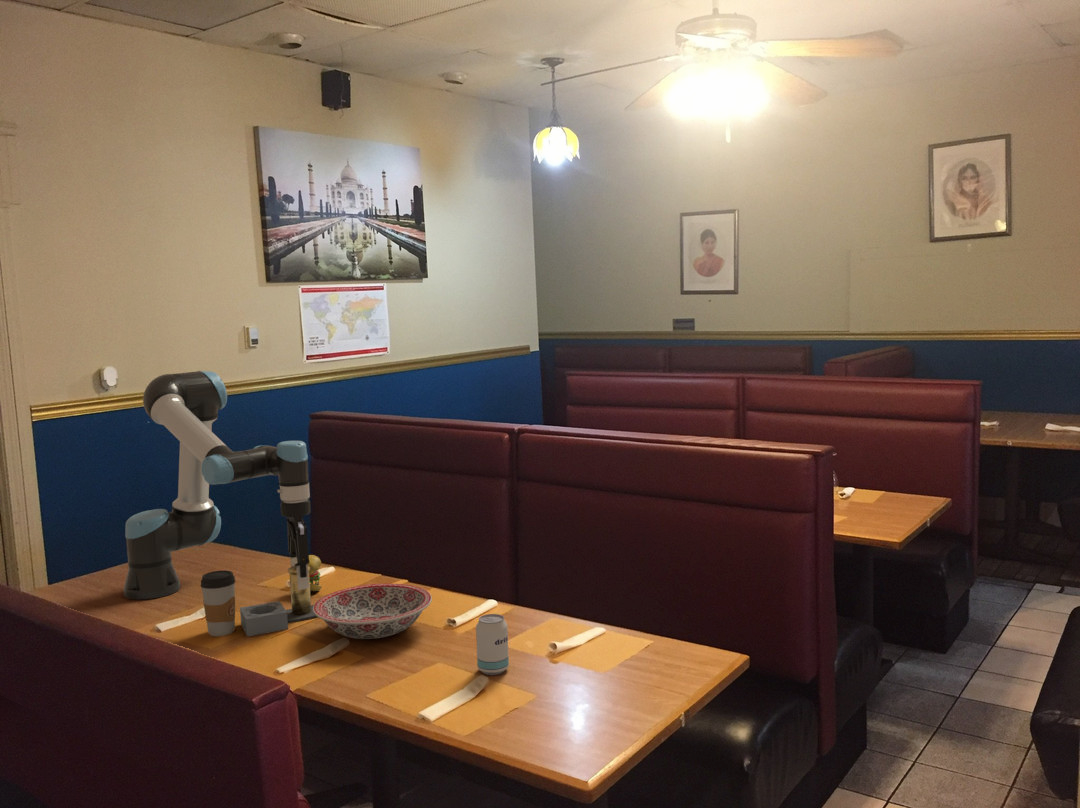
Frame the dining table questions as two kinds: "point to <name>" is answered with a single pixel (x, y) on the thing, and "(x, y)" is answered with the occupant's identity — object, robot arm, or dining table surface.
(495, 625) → the beverage can
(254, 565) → the dining table surface
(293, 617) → the rubber mat
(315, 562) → the hamburger
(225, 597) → the coffee cup
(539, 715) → the dining table surface
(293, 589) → the gold round-topped cylinder
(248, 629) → the housing
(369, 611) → the ceramic bowl
